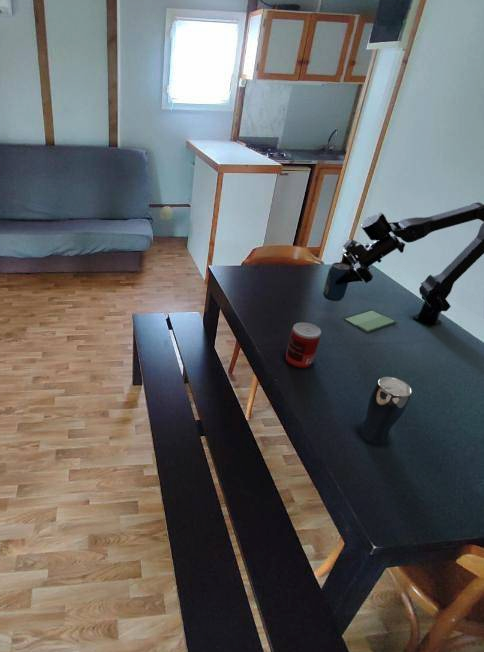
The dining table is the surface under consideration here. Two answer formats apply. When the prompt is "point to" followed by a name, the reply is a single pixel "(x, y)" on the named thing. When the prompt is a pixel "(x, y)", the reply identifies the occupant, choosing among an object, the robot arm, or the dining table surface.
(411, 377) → the dining table surface
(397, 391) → the beer glass
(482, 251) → the robot arm
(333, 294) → the soda can
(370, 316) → the cloth
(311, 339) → the canned food
